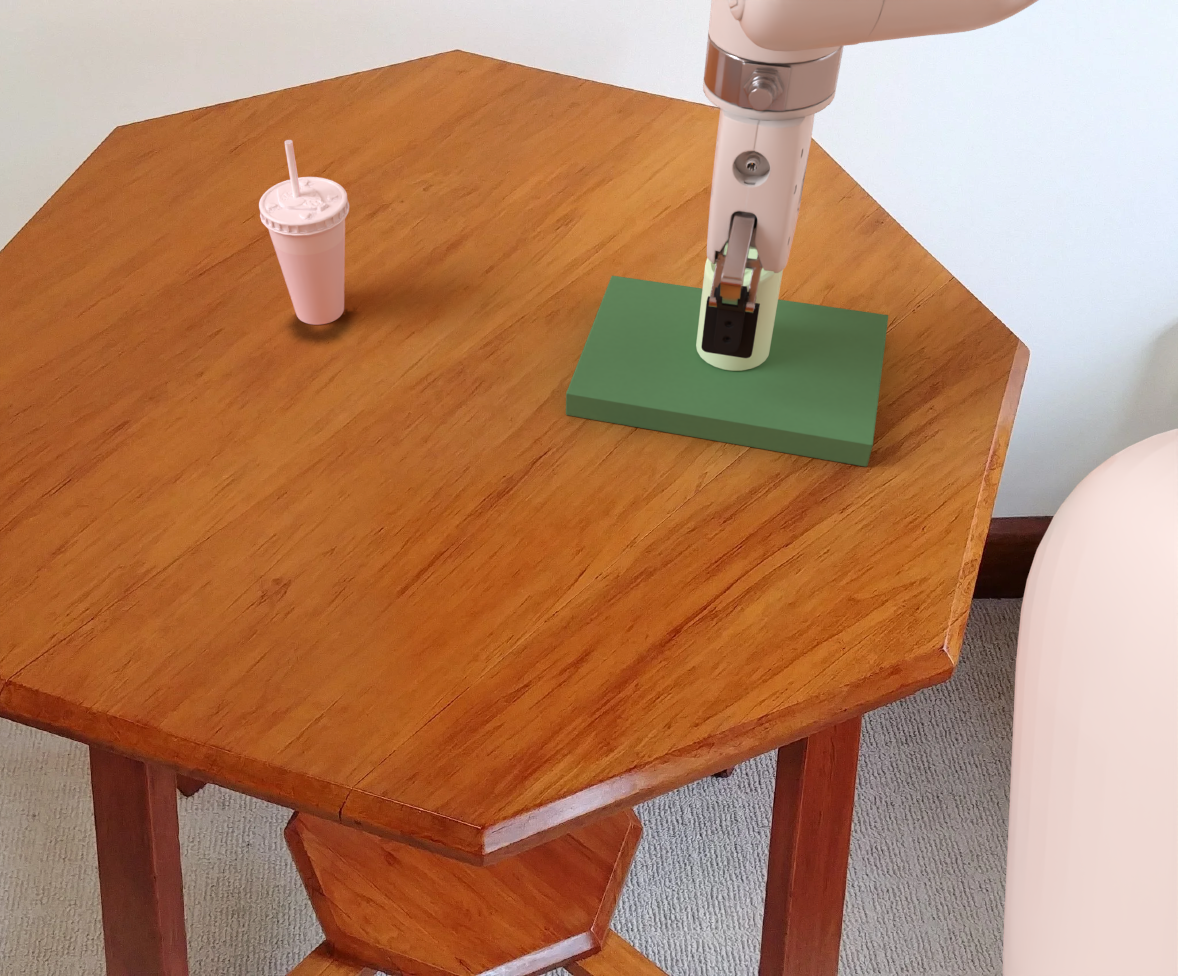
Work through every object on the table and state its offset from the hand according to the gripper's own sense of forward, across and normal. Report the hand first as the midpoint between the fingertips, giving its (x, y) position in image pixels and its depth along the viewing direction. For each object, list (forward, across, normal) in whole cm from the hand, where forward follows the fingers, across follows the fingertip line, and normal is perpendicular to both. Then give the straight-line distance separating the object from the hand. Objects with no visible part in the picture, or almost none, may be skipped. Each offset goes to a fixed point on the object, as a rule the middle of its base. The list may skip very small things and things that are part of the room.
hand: (737, 308), depth 83 cm
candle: (+4, 0, 0) cm, 4 cm away
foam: (+6, 0, 0) cm, 6 cm away
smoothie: (+6, 0, +31) cm, 32 cm away
